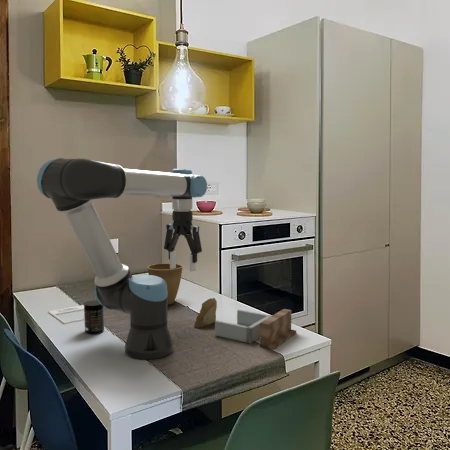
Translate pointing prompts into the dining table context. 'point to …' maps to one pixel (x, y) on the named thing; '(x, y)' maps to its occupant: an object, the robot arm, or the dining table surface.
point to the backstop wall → (276, 329)
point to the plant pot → (168, 277)
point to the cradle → (241, 331)
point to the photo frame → (67, 310)
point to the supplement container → (93, 317)
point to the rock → (207, 313)
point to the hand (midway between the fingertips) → (182, 269)
